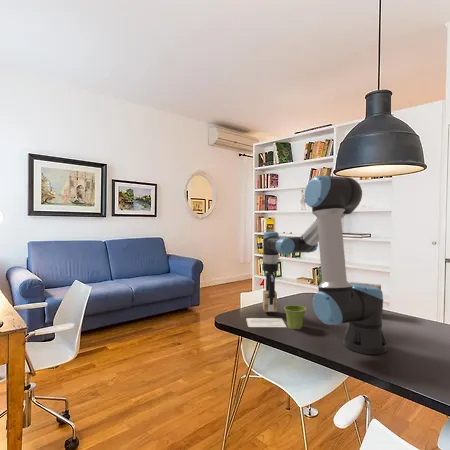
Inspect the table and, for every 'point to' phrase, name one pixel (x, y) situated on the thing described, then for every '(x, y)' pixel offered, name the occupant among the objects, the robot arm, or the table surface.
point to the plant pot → (294, 316)
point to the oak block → (265, 301)
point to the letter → (265, 322)
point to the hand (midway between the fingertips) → (269, 308)
